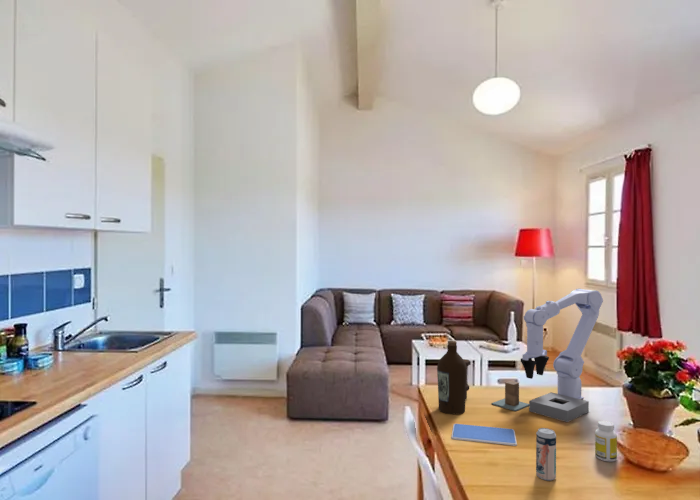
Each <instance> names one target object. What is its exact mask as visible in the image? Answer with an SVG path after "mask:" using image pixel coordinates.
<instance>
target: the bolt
mask: <svg viewBox="0 0 700 500" xmlns="http://www.w3.org/2000/svg"><path fill="white" fill-rule="evenodd" d="M462 359H463V360H464V361H465V363H466V366H467V367H468V366H470V365H472V364H471V361H470V360H469V359H465V358H462ZM469 390H470V385H469V384H468V378H467V379H466V397H465V400H467V398H468V391H469Z"/></svg>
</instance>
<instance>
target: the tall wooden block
mask: <svg viewBox="0 0 700 500" xmlns="http://www.w3.org/2000/svg"><path fill="white" fill-rule="evenodd" d="M504 389H505V390H504V398H505V404H508V405H511V406H516V405H518V404H519V401H520V382H517V381H513V380H509V381H506V382H504Z"/></svg>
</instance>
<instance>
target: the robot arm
mask: <svg viewBox="0 0 700 500" xmlns="http://www.w3.org/2000/svg"><path fill="white" fill-rule="evenodd" d="M603 303H604V299H603V296H602V294H601V293H600V291H599V290H595V289H594V290H591V289H583V288H576V289H574V290H571V292H570V293H568V294H567V295H564V296H562V297H561V298H559V299H558V300H556V301H553V300H547V301H545V303H544V304H541V305H537V306H536V307H535V309H533V308H530V309H527V311H526V312H525V313H524V316H523V320H524V322H525V325H526V335H527V336H526V351H525V352H524V353H523V354H522V355H521V356H522V357H521V358H520V363H521V365H522V366H523V369H524V372H525V373H524V374H525V376H526V378H527V379H530V380H532V379H533V377H534V371H536V374H537V375H539V376H543V375H544V374H545V373H544V372H545V370H546V369H545V367H546V365H547V363H548V361H549V360H550V357H549V356H548V351H547V350H546V349H544V325H545V324H547V321H549V319H552V318H554V317H556V316H557V315H559V314H560V313H561V312H560V311H561V310H563V309H565V308H568V307H571V306H573V305H574V304H575V305H576V307H577V308H578V309H579V311H580V312H581V317H580V318H579V321H578V323H577V326H576V327H575V330H574V331H573V334H572V336H571V338H570V341H569V344H568V345H567V347H566V349H565V350H563V351H560V352H559V354H558V356H556V358H555V359H554V360H553V364H552V366H553V369H554V371H556V375H557V394H560V395H565V396H569V397H573V398H577V399H581V400H584V399H585V397H584V396H582V379H581V378H580V376H581V375H582V374H583V371H584V369H583V368H584V364H585V361H584V359H583V357H582V354H583V351H584V349H585V347H586V346H587V342H588V341H589V339H590V336H591V333H592V331H593V329H594V328H595V327H594V326H595V324H596V323H597V321H598V319H599V316H600V309H601V307H602V305H603Z"/></svg>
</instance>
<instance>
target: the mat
mask: <svg viewBox="0 0 700 500" xmlns="http://www.w3.org/2000/svg"><path fill="white" fill-rule="evenodd" d="M491 405H493V406H496V407H500V408H501V409H502V408H503V409H506V410H510V411H514V412H518V411H521V410H523V409H525V408H527V407H529V403H527V402H523V401H520V400H519V404H518V405H516V406H511V405H508V404H505V397H504V398H501V399H499V400H497V401H493V402H491Z"/></svg>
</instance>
